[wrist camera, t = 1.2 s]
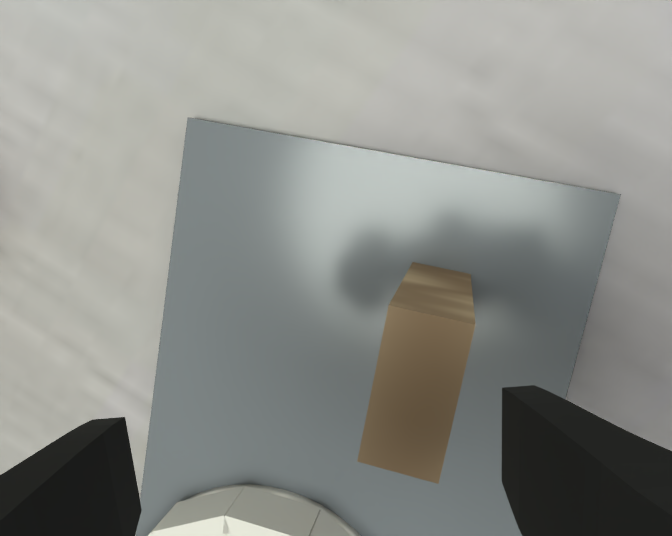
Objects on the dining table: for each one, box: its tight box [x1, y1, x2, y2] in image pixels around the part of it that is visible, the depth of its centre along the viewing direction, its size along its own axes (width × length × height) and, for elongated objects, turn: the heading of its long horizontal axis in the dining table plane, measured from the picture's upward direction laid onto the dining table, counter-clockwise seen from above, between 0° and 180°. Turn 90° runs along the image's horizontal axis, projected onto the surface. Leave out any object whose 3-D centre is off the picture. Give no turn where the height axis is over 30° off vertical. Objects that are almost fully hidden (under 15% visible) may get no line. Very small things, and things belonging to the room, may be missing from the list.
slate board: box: [136, 118, 621, 536], centre depth 22 cm, size 15×26×1 cm, turn 170°
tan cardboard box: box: [357, 262, 476, 484], centre depth 17 cm, size 2×4×7 cm, turn 170°
